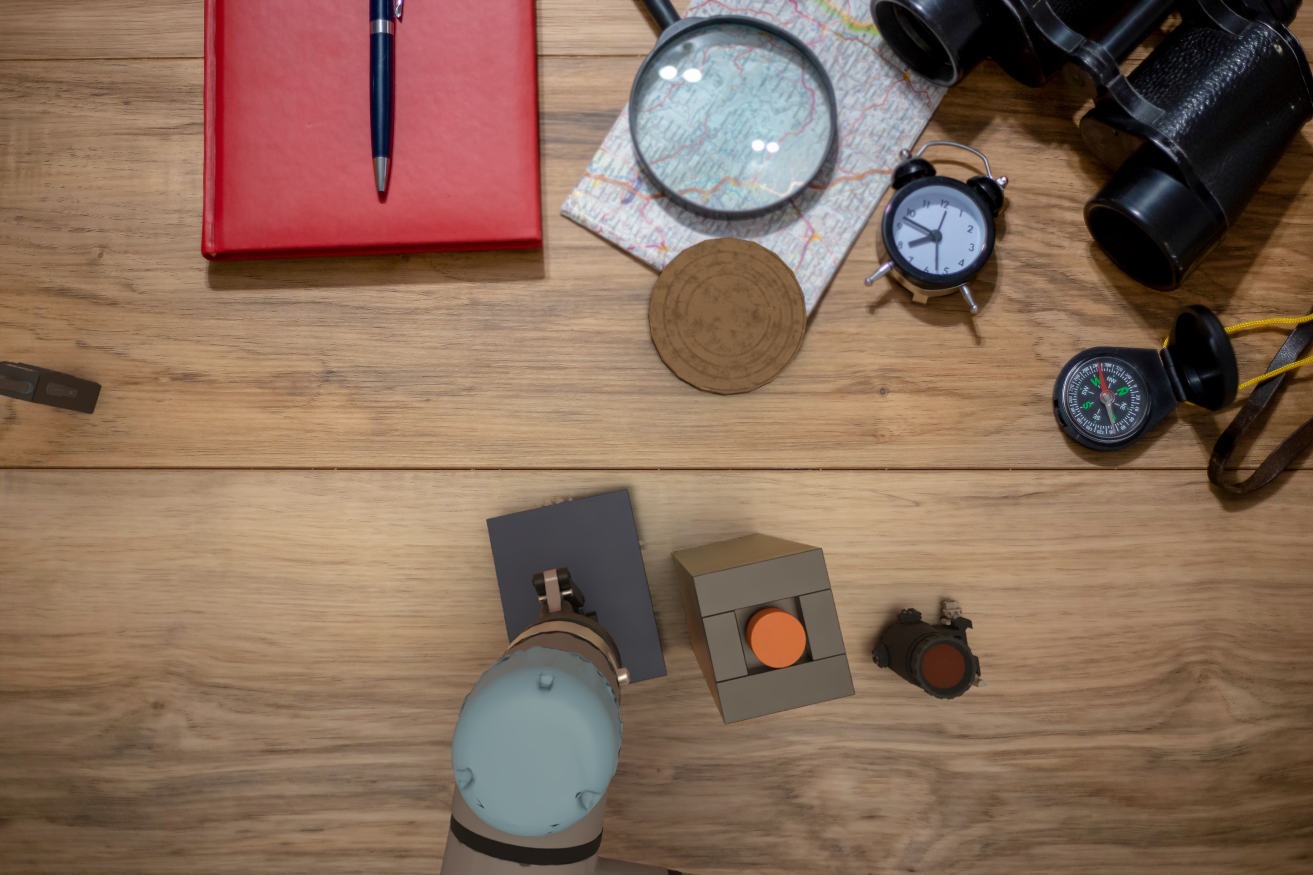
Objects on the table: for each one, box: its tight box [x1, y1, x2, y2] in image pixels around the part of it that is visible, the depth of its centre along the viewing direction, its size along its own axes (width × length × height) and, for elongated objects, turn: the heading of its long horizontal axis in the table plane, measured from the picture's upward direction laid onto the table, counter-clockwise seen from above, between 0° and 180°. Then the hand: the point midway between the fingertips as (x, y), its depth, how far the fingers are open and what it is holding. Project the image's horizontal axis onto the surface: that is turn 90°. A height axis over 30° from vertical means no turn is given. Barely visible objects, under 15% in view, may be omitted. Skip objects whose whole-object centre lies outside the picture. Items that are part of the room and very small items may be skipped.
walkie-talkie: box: [0, 360, 102, 415], centre depth 78 cm, size 5×3×20 cm
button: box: [746, 608, 806, 668], centre depth 58 cm, size 4×4×2 cm
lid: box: [485, 488, 668, 685], centre depth 78 cm, size 17×13×1 cm
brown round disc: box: [647, 236, 808, 397], centre depth 89 cm, size 16×16×3 cm
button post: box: [671, 532, 856, 725], centre depth 74 cm, size 10×9×30 cm
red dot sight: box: [871, 599, 989, 701], centre depth 82 cm, size 8×14×10 cm
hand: (581, 626), depth 77 cm, fingers closed
